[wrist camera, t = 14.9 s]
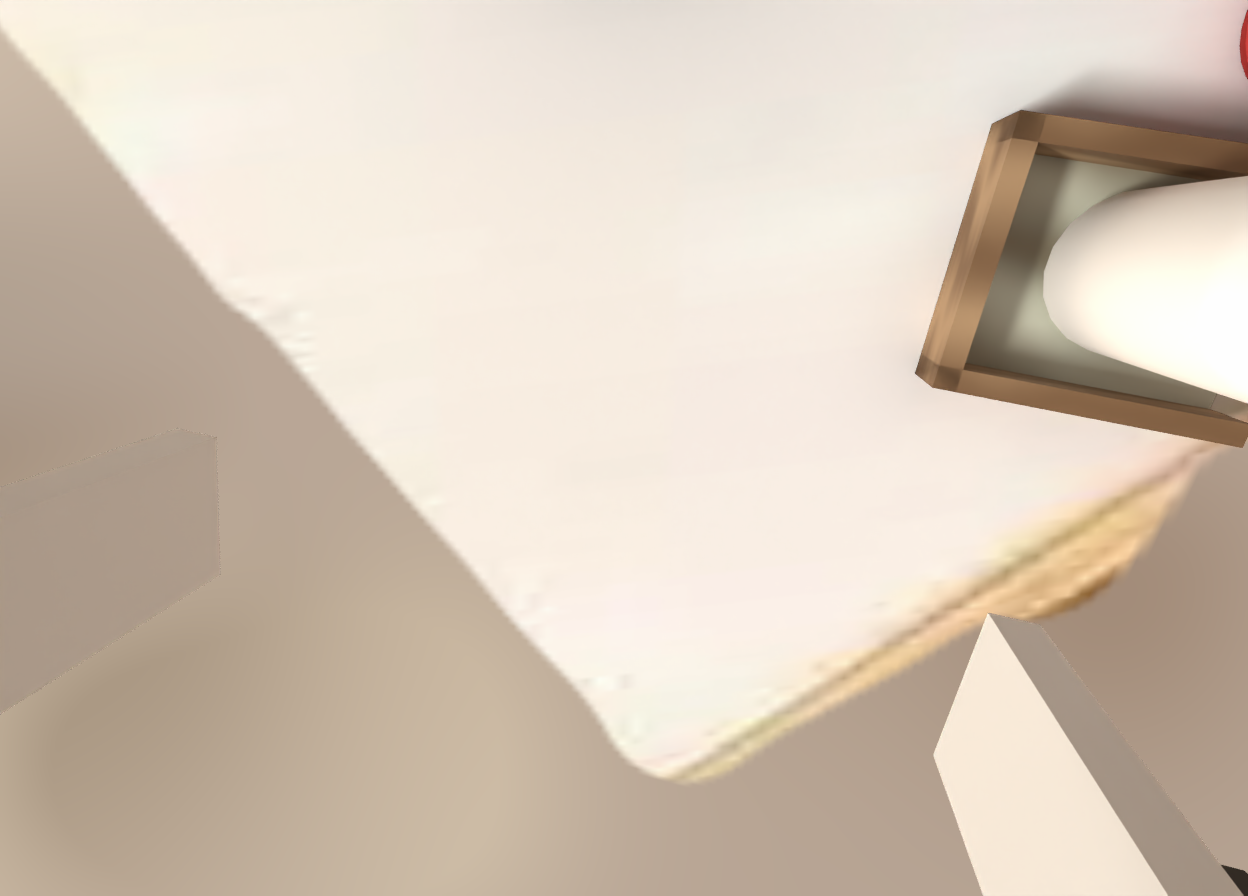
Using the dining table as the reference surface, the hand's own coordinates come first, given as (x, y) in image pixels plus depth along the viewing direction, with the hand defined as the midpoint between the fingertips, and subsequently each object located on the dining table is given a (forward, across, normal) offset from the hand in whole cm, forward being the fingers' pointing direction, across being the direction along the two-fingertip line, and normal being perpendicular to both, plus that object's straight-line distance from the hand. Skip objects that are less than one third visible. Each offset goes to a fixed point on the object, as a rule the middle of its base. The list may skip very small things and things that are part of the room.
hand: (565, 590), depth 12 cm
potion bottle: (+31, +21, +8) cm, 39 cm away
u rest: (+32, +20, +7) cm, 38 cm away
